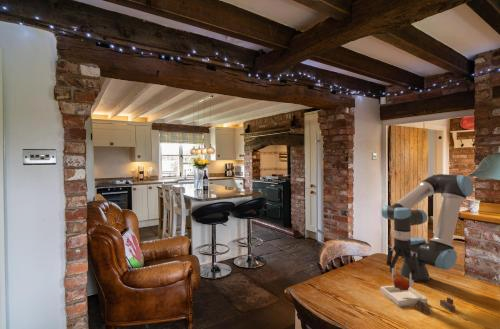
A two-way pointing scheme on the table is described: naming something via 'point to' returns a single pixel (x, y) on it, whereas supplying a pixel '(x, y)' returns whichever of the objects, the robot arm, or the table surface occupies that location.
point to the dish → (403, 296)
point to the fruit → (401, 282)
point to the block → (443, 303)
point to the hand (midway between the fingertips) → (402, 282)
